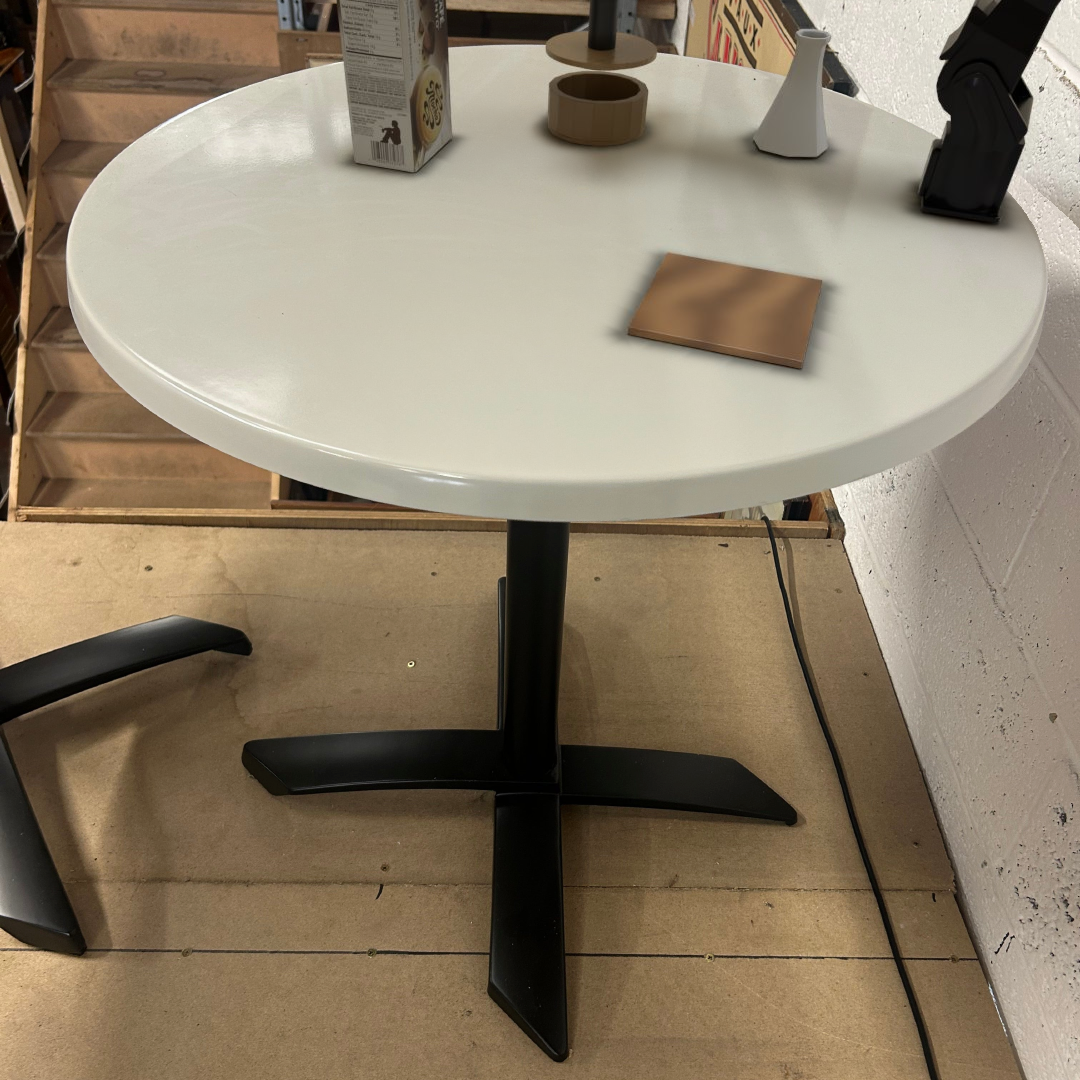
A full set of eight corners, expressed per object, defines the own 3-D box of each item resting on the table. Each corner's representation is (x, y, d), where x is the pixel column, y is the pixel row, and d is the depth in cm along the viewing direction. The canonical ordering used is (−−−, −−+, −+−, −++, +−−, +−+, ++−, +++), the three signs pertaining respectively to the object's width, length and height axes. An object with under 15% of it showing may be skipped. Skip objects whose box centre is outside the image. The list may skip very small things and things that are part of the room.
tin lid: (665, 50, 89) (677, -61, 82) (643, 82, 81) (655, -36, 75) (561, 38, 90) (566, -71, 84) (531, 69, 83) (534, -48, 77)
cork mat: (820, 287, 69) (822, 279, 69) (801, 369, 61) (803, 361, 60) (666, 259, 72) (666, 251, 71) (627, 334, 63) (628, 326, 63)
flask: (828, 137, 92) (855, 27, 85) (825, 164, 87) (853, 49, 80) (756, 128, 93) (776, 18, 86) (748, 154, 88) (769, 40, 81)
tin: (653, 119, 94) (657, 78, 91) (629, 152, 87) (633, 109, 85) (564, 105, 96) (566, 65, 93) (534, 137, 89) (535, 95, 87)
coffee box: (393, 129, 90) (377, -65, 79) (454, 139, 88) (447, -57, 77) (351, 163, 83) (327, -42, 72) (416, 174, 82) (402, -34, 71)
